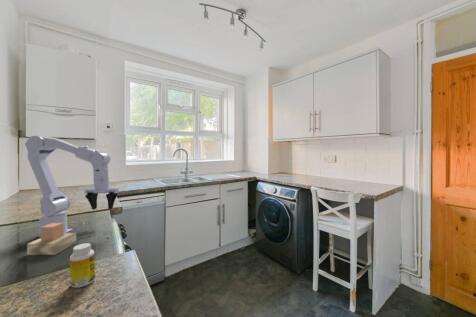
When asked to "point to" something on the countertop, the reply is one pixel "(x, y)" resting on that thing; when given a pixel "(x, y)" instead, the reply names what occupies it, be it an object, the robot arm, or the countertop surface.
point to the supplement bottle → (82, 265)
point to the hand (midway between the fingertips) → (102, 208)
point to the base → (51, 245)
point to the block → (52, 231)
